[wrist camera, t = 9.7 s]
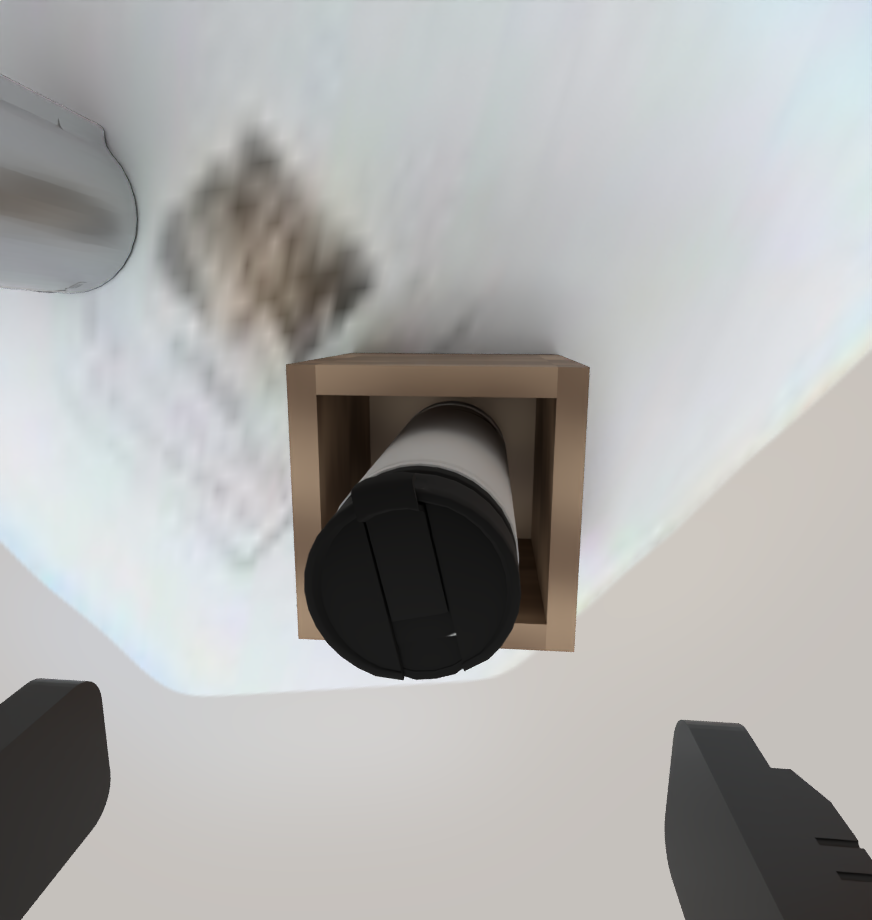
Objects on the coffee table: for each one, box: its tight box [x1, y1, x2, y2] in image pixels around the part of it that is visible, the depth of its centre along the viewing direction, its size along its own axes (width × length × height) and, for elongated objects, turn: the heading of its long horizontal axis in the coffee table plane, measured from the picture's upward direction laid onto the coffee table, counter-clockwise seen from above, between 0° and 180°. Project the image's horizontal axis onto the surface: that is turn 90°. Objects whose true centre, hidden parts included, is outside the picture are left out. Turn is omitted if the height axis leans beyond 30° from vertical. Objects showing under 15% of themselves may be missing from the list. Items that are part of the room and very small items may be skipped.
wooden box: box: [286, 353, 590, 652], centre depth 32 cm, size 12×12×12 cm
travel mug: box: [304, 401, 521, 680], centre depth 27 cm, size 6×7×20 cm
